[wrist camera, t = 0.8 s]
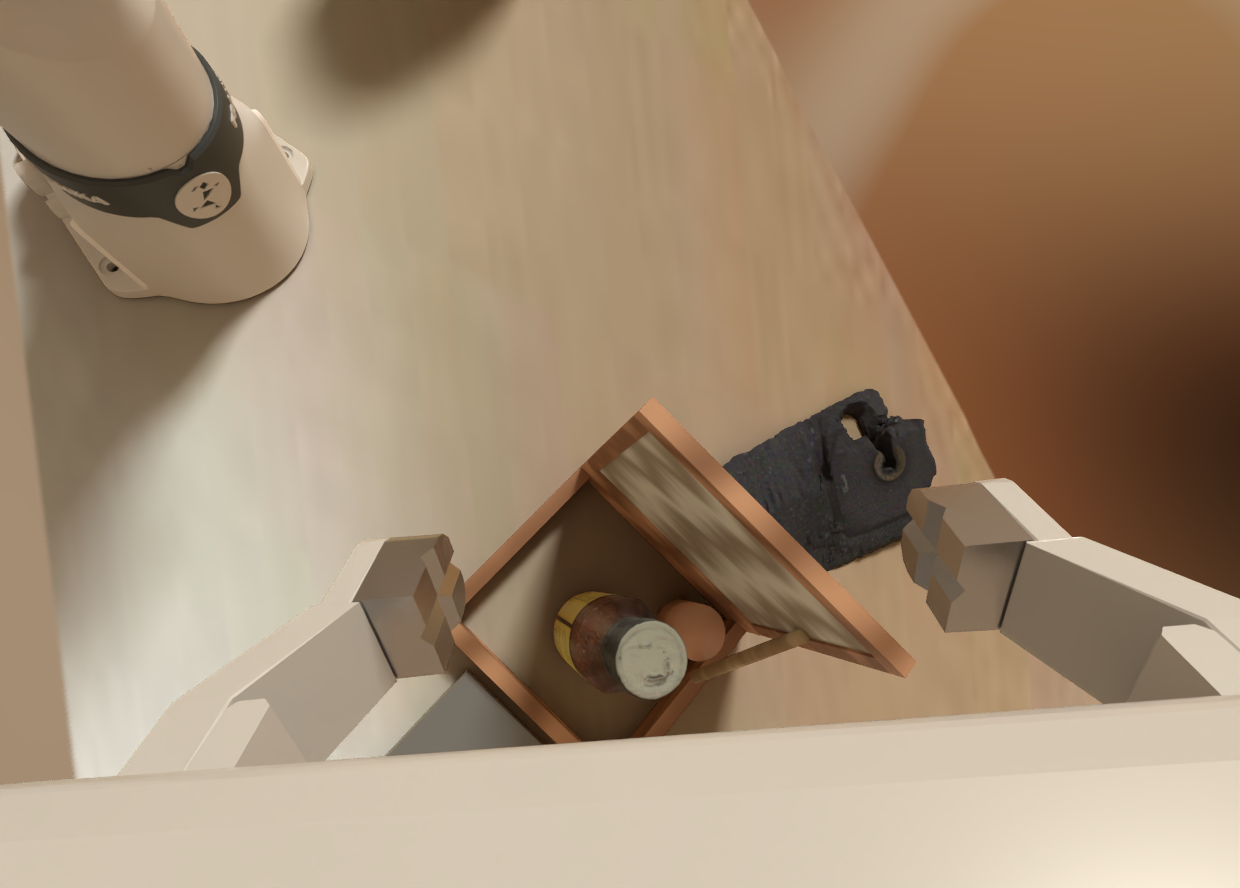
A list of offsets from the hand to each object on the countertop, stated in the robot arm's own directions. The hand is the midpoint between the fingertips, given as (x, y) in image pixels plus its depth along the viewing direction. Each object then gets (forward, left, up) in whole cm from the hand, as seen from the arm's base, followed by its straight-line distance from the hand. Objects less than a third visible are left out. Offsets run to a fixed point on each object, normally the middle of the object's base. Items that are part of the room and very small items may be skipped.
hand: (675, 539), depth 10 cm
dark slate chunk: (+16, +24, -41) cm, 50 cm away
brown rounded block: (+14, +5, -41) cm, 43 cm away
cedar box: (+8, 0, -41) cm, 41 cm away
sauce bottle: (+8, -1, -41) cm, 42 cm away
